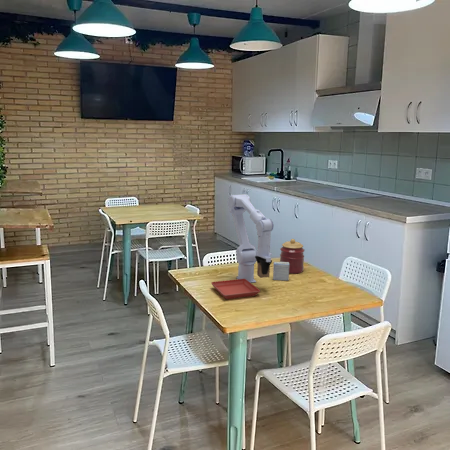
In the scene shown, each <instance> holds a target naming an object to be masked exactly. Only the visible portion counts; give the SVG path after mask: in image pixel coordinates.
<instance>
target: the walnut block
mask: <svg viewBox="0 0 450 450" xmlns="http://www.w3.org/2000/svg"><path fill="white" fill-rule="evenodd" d="M256 268H257V270H256V271H257V273H256V275H257V276H258V277H259V278H260V279H261V278H270V272H271V265H270V266H269V269H268V272H267V274H264V275H263V274H262V267H261V263H258V264H257V267H256Z"/></svg>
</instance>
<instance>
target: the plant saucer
mask: <svg viewBox="0 0 450 450" xmlns="http://www.w3.org/2000/svg"><path fill="white" fill-rule="evenodd" d="M211 285H212V286H213V288H214V289H215V290H216V291H217V292H218V293H219V295H221V296H222V297H223V298H225V300H231V299H232V300H234V299H240V298H249V297H255V296H257V295H258V294H259V293H260V292H261V290H260V289H259V288H258V287H257V286H255V285H254V284H253V283H250V282H249V281H247V280H246V279H237V278H236V279H229V280H228V279H227V280H219V281H218V280H217V281H212V282H211Z"/></svg>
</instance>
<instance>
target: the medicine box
mask: <svg viewBox="0 0 450 450" xmlns="http://www.w3.org/2000/svg"><path fill="white" fill-rule="evenodd" d="M272 269H273V272H272V273H273V274H272V275H273V276H272V280H273V281H290V280H289V279H290V273H289V262H280V261H273V268H272Z"/></svg>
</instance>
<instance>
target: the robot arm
mask: <svg viewBox="0 0 450 450" xmlns="http://www.w3.org/2000/svg"><path fill="white" fill-rule="evenodd" d="M227 207H228V209H229V212H230V213H231V215H232V216H231V217H232V220H233V221H232V222H233V224H234V229H235V231H236V233H235V234H236V237H237V240H238V241H237V242H238V244H239V245H238V247H237V248H236V250H235V256H236V261H237V263H238V266H237V267H238V269H237V276H236V277H235V278H236V279H246V280H247V281H249V282H250V283H251V284H253V283H257V281H256V279H255V264H257V265H258V263H261V267H262V274H263V275H264V274H267V272H268V269H269V266H270V267H271V265H272V263H273V260H272V259H271V256H273V253H272V252H271V232H272V231H273V230H274V222H273V220H272V219H271V218H267V217H266V216H265V215H264V214H263V213H262V212H261V210H260V209H256V207H254V205H253V204H252V202H251V197H250V196H249V195H248V194H247V193H244V194H230V195H229V196H228V199H227ZM244 212H247V213H248V214H249V218H250V219H251V220H250V221H252V222H253V223H254V224H255V229H256V231H257V232H256V234H257V249H256V247H255V246H254V245H253V244H252V243H250V240H249V236H248V235H249V234H248V231H247V227H246V224H245V219H244Z"/></svg>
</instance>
